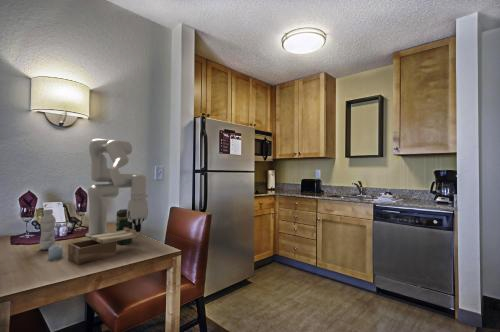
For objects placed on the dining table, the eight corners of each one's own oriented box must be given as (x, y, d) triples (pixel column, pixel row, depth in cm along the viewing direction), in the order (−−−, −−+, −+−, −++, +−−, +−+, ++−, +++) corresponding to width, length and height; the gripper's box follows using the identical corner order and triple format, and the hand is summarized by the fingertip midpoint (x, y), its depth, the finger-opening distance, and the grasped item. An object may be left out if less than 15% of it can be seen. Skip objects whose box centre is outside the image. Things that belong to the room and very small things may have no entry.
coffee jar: (133, 243, 148) (134, 210, 148) (118, 245, 143) (119, 211, 143) (129, 239, 155) (129, 208, 155) (114, 241, 150) (115, 209, 150)
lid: (90, 239, 129) (90, 232, 129) (124, 232, 142) (124, 227, 142) (103, 243, 121) (103, 237, 121) (137, 236, 135) (137, 230, 135)
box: (68, 258, 120) (68, 243, 121) (104, 250, 133) (104, 236, 133) (79, 264, 113) (79, 248, 113) (116, 255, 126) (116, 241, 126)
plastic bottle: (46, 251, 130) (47, 211, 130) (35, 250, 131) (36, 210, 132) (58, 247, 136) (59, 209, 137) (47, 246, 138) (48, 208, 138)
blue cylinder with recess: (46, 258, 121) (47, 247, 121) (59, 255, 125) (60, 245, 125) (50, 260, 118) (51, 249, 118) (64, 257, 122) (64, 247, 122)
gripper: (146, 196, 150) (146, 228, 150) (121, 198, 138) (120, 233, 138) (154, 197, 146) (153, 230, 145) (128, 199, 133) (127, 235, 133)
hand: (137, 231), depth 141 cm, fingers closed
